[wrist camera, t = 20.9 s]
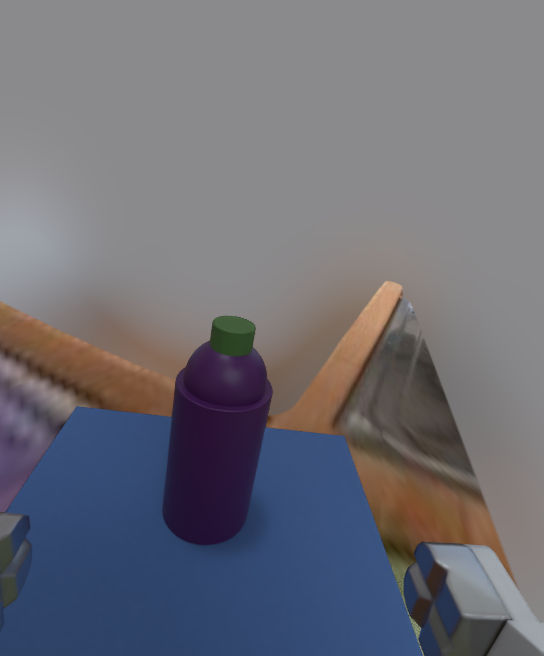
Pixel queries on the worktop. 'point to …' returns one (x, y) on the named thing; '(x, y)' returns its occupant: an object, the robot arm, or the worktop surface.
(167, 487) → the purple bottle
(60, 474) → the napkin
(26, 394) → the worktop surface
